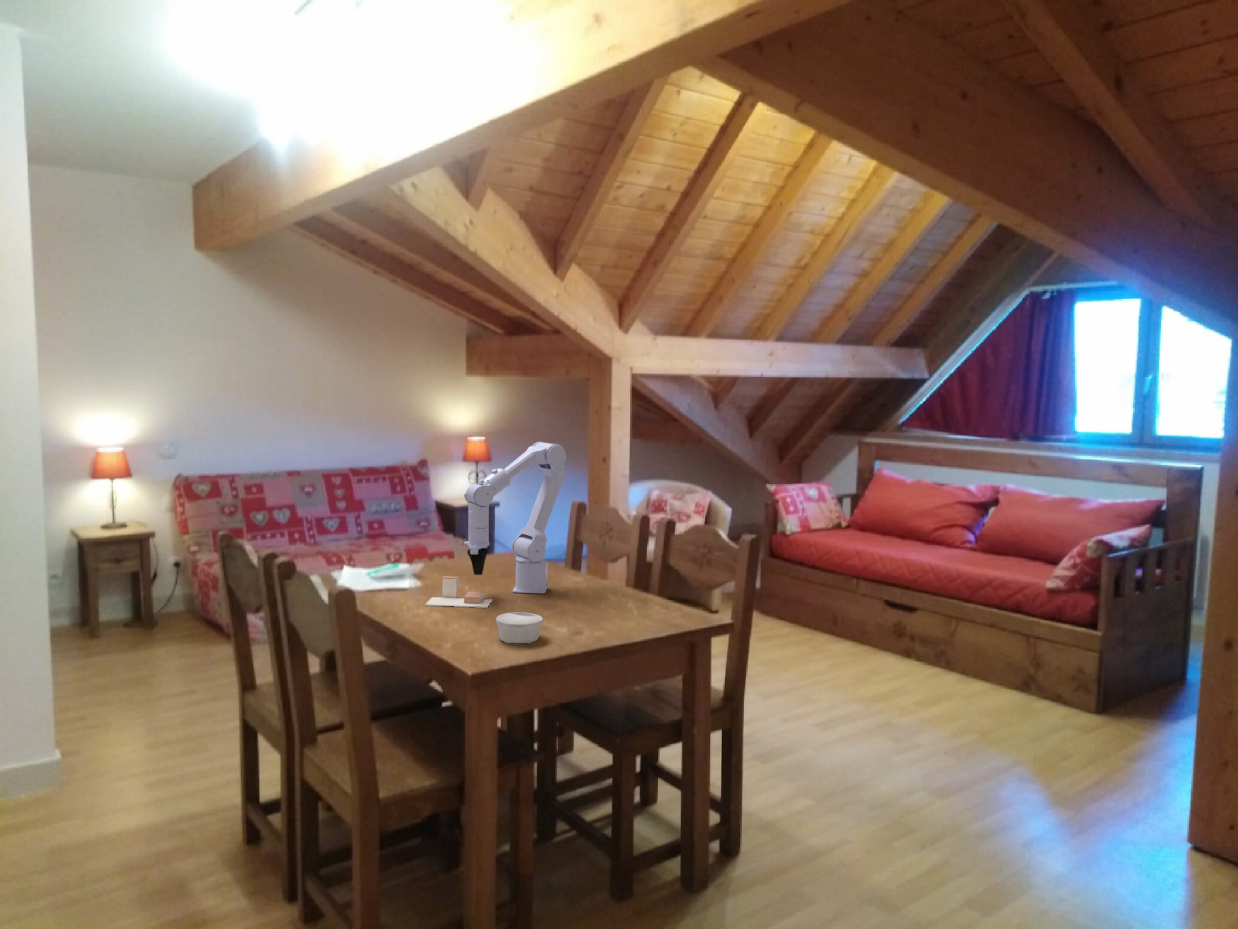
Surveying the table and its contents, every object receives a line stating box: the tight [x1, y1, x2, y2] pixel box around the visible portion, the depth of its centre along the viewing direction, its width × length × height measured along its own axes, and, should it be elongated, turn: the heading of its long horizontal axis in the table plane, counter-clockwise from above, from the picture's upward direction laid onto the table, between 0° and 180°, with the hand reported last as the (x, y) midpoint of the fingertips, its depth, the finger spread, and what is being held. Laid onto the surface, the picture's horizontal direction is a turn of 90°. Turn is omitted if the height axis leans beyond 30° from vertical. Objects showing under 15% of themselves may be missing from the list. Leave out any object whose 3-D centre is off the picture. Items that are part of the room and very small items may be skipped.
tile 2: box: [463, 591, 485, 603], centre depth 247 cm, size 4×2×6 cm
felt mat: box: [424, 596, 493, 609], centre depth 245 cm, size 17×8×1 cm, turn 89°
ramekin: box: [495, 611, 544, 644], centre depth 214 cm, size 11×11×5 cm
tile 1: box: [440, 575, 460, 598], centre depth 250 cm, size 4×2×6 cm, turn 89°
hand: (478, 574), depth 251 cm, fingers closed
